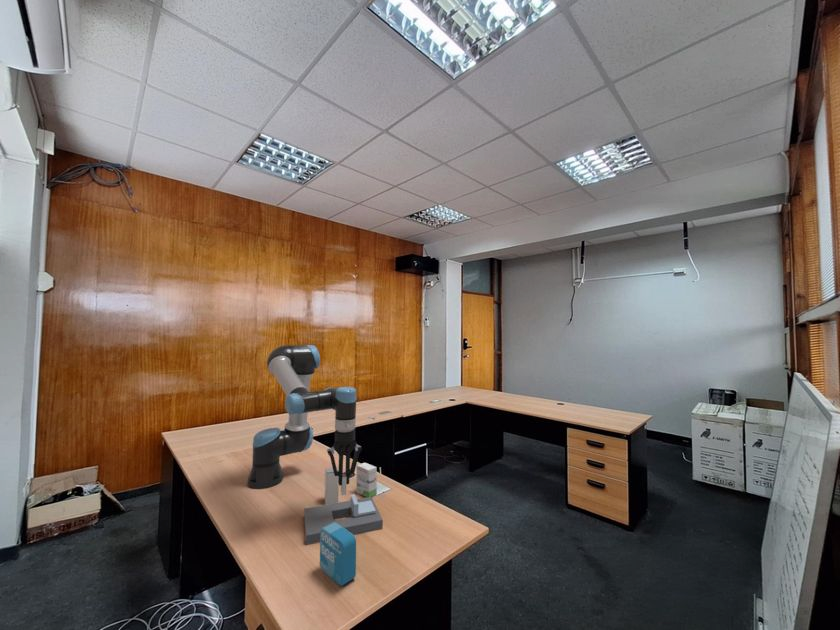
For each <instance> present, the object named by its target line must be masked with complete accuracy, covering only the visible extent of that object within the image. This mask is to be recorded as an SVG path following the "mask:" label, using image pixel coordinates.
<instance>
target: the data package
mask: <svg viewBox="0 0 840 630" xmlns="http://www.w3.org/2000/svg"><path fill="white" fill-rule="evenodd" d="M319 566H320V569H321V570H322V571H323V572H324V574H326V575H327V576H328V577H329V578H331V579H332V580H333V581H334V582H336V583H335V584H338V586H339V587H342V586H345V584H347V583H349V582H351V581H352V580H353V579H355V578H356V575H357V538H356V536H355V535H353V534H352V533H350V532H349V531H347V530H346V529H345V528H343V527H342V526H340V525H339V524H337V523H336V522H334V523H332V524H330V525H328V526H325V527H323V528H322V529H321V531H320V542H319Z"/></svg>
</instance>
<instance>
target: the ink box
mask: <svg viewBox="0 0 840 630" xmlns="http://www.w3.org/2000/svg"><path fill="white" fill-rule="evenodd" d="M377 469H378V468H377V466H374V465H373V464H369V463H367V462H363V463H358V464H356V493H357V494H359V495H362V496H363V497H364V498H367V497H372V498H373V496H376V495H378V494H377V493H378V492H377V491H378V489H377V487H378V486H377V485H378V484H377V482H378V481H377V480H378V479H377V478H378V477H377V476H378V475H377V473H378V471H377Z"/></svg>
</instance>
